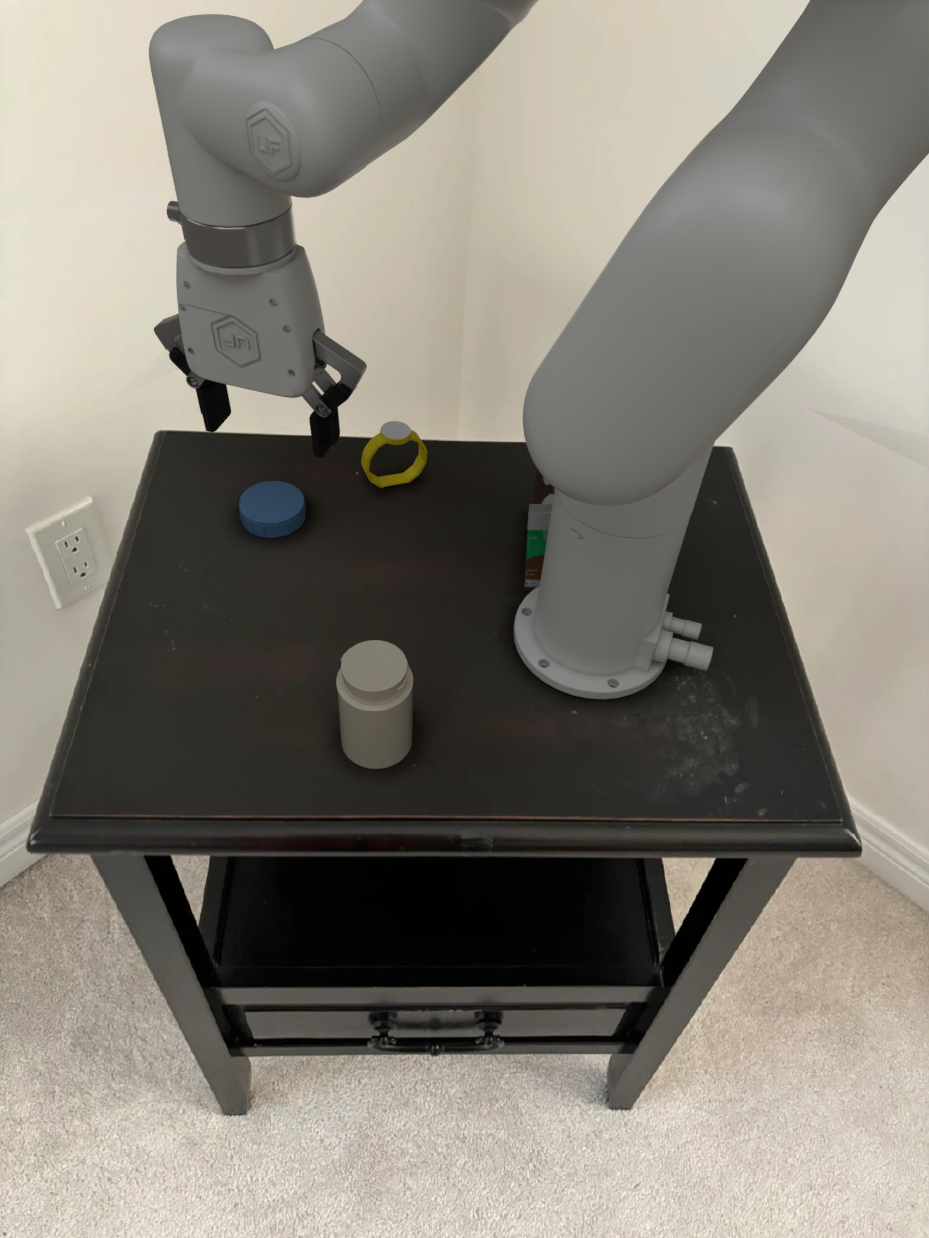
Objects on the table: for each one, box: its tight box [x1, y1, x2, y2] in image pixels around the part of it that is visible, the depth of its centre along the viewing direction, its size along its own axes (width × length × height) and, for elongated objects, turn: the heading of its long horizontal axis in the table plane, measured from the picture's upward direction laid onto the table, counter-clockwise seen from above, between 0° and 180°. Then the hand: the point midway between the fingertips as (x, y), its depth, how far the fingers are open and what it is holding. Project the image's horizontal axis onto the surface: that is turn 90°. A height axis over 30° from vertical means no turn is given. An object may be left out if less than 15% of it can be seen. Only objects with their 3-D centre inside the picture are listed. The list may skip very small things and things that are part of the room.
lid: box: [238, 480, 307, 539], centre depth 83 cm, size 6×6×2 cm
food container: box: [523, 468, 555, 594], centre depth 78 cm, size 12×6×10 cm, turn 172°
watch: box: [360, 420, 428, 489], centre depth 85 cm, size 6×3×6 cm, turn 113°
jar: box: [335, 639, 414, 770], centre depth 65 cm, size 5×5×9 cm
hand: (271, 435), depth 77 cm, fingers open, 9 cm apart
